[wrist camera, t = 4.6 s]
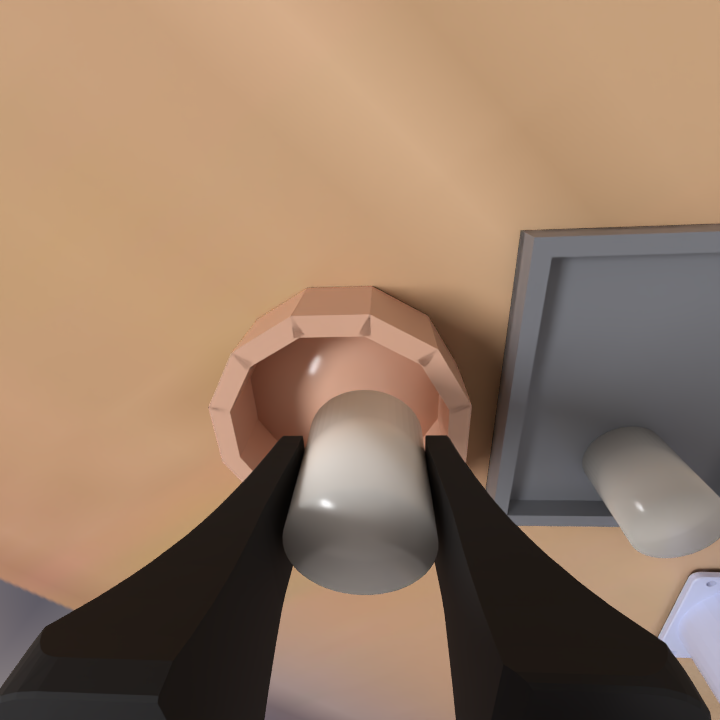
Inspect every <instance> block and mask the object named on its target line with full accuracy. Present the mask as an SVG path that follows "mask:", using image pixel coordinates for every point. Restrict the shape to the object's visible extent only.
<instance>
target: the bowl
mask: <svg viewBox="0 0 720 720" xmlns="http://www.w3.org/2000/svg"><path fill="white" fill-rule="evenodd" d="M355 390H374V391H380V392H383V393H387V394H389V395H392V396H394V397H396V398H398V399H400V400H401V401H403V402H404V403H405V404H407V405H408V406H409V407H410V408H411V409H412V411H413V412H414V413H415V415H416V416H417V418H418V420H419V422H420V425H421V429H422V434H423V441H424V448H425V436H426V435H447V436H448V437H449V438H450V439H451V441H452V443H453V445H454V446H455V448H456V449H457V451H458V453H459V454H460V456H461V457H462V459H463V460H464V462H465V463H466V458H467V448H468V438H469V428H470V419H471V409H472V404H471V402H470V399H469V396H468V394H467V391H466V388H465V385H464V383H463V380H462V377H461V374H460V372H459V369H458V366H457V364H456V362H455V361H454V359H453V357H452V355H451V354H450V352H449V350H448V349H447V347H446V345H445V344H444V342H443V340H442V338H441V337H440V335H439V333H438V332H437V330H436V328H435V327H434V325H433V323H432V321H431V320H430V318H429V316H427V315H426V314H424V313H422V312H420V311H418V310H416V309H414V308H412V307H410V306H409V305H407V304H405V303H403V302H401V301H399V300H397V299H395V298H393V297H392V296H390V295H388V294H386V293H384V292H382V291H380V290H378V289H376V288H375V287H373V286H361V287H323V288H306V289H305V290H303V291H301V292H300V293H298V294H297V295H295V296H294V297H292V298H290V299H289V300H287V301H286V302H284V303H282V304H281V305H279V306H278V307H276V308H275V309H273V310H271V311H270V312H268V313H267V314H265V315H263V316H262V317H260V318H259V319H257V320H256V321H255V323H254V324H253V325H252V327H251V328H250V329H249V330H248V332H247V333H246V334H245V336H244V337H243V338H242V339H241V341H240V342H239V343H238V345H237V346H236V347H235V348H234V350H233V351H232V352H231V354H230V357H229V359H228V362H227V364H226V366H225V369H224V371H223V374H222V376H221V379H220V381H219V383H218V386H217V388H216V391H215V393H214V395H213V398H212V400H211V403H210V405H209V407H208V408H209V412H210V416H211V420H212V423H213V427H214V431H215V435H216V439H217V443H218V447H219V451H220V455H221V459H222V462H223V463H224V464H225V465H226V466H227V467H228V468H229V469H230V470H231V471H232V472H233V473H234V474H235V475H236V476H237V477H238V478H239V479H240V480H241V481H242V482H243V481H244V480H245V479H246V478H247V477H248V476H249V474H250V473H251V472H252V471H253V470H254V469H255V468H256V467H257V466H258V464H259V463H260V462H261V461H262V460H263V459H264V457H265V456H266V455H267V454H268V453H269V451H270V450H271V449H272V448H273V447H274V445H275V444H276V443H277V442H278V441H279V439H280V438H281V437H282V436H303V440H304V448H305V447H306V443H307V439H308V435H309V431H310V428H311V424H312V421H313V419H314V417H315V415H316V413H317V412H318V410H319V409H320V408H321V407H322V406H323V405H324V404H325V403H326V402H327V401H329V400H330V399H332V398H334V397H335V396H338V395H340V394H342V393H346V392H349V391H355Z"/></svg>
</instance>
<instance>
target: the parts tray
mask: <svg viewBox="0 0 720 720" xmlns="http://www.w3.org/2000/svg"><path fill="white" fill-rule="evenodd" d="M632 426H633V427H642V428H646V429H649V430H651V431H653V432H654V433H656V434H657V435H658V436H659V437H660V438H661V439H662V440H663V441H664V442H665V443H666V444H667V445H668V446H669V447H670V448H671V449H672V450H673V451H674V452H675V453H676V454H677V455H678V456H679V457H680V458H681V459H682V460H683V461H684V462H685V463H686V464H687V465H688V466H689V467H690V468H691V469H692V470H693V471H694V472H695V473H696V474H697V475H698V476H699V477H700V478H701V479H702V480H703V481H704V482H705V483H706V484H707V485H708V486H709V487H710V488H711V489H712V490H713V491H714V492H715V493H716V494H717V495H718V496H719V497H720V224H696V225H667V226H637V227H608V228H579V229H549V230H521V233H520V240H519V248H518V255H517V263H516V270H515V277H514V285H513V292H512V299H511V307H510V314H509V322H508V329H507V336H506V344H505V351H504V358H503V366H502V373H501V381H500V388H499V395H498V403H497V410H496V417H495V425H494V432H493V440H492V447H491V454H490V462H489V469H488V476H487V484H486V491H487V492H488V494H489V495H490V496H491V497H492V498H493V500H494V501H495V502H496V503H497V504H498V505H499V507H500V508H501V509H502V510H503V511H504V512H505V513H506V515H507V516H508V517H509V518H510V519H511V520H512V521H513V522H514V523H515V524H516V525H517V526H597V527H620V526H619V525H618V523H617V522H616V520H615V519H614V517H613V515H612V514H611V512H610V511H609V509H608V508H607V506H606V505H605V503H604V502H603V500H602V499H601V497H600V495H599V494H598V492H597V491H596V489H595V488H594V486H593V485H592V483H591V482H590V480H589V478H588V477H587V475H586V474H585V472H584V470H583V466H582V461H583V456H584V454H585V452H586V450H587V448H588V447H589V446H590V445H591V443H592V442H593V441H595V440H596V439H597V438H598V437H600V436H601V435H603V434H605V433H607V432H609V431H612V430H614V429H618V428H622V427H632Z"/></svg>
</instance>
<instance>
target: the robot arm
mask: <svg viewBox="0 0 720 720" xmlns="http://www.w3.org/2000/svg"><path fill="white" fill-rule="evenodd" d="M304 450H305V448H304V440H303V436H282V437H281V438H280V439H279V441H278V442H277V443H276V444H275V445H274V447H273V448H272V449H271V450H270V451H269V453H268V454H267V455H266V456H265V457H264V459H263V460H262V461H261V462H260V463H259V464H258V466H257V467H256V468H255V469H254V470H253V471H252V472H251V473H250V474H249V476H248V477H247V478H246V479H245V480H244V481H243V482H242V483H241V484H240V486H239V487H238V488H237V489H236V490H235V491H234V492H233V493H232V494H231V495H230V496H229V497H228V498H227V499H226V500H225V501H224V502H223V503H222V504H221V505H220V506H219V507H218V508H217V509H216V510H215V511H214V512H212V513H211V514H210V515H209V516H208V517H207V518H206V519H205V520H204V521H203V522H202V523H200V524H199V525H198V526H197V527H196V528H195V529H193V530H192V531H191V532H190V533H189V534H187V535H186V536H185V537H184V538H183V539H181V540H180V541H179V542H177V543H176V544H175V545H173V546H172V547H171V548H169V549H168V550H167V551H165V552H164V553H163V554H161V555H160V556H159V557H157V558H156V559H155V560H153V561H152V562H151V563H149V564H148V565H146V566H145V567H143V568H142V569H140V570H139V571H137V572H136V573H134V574H133V575H132V576H130V577H129V578H127V579H125V580H124V581H122V582H121V583H119V584H118V585H116V586H115V587H113V588H111V589H110V590H108V591H107V592H105V593H103V594H102V595H100V596H98V597H97V598H95V599H93V600H92V601H90V602H88V603H86V604H85V605H83V606H81V607H79V608H78V609H76V610H74V611H72V612H71V613H69V614H67V615H66V616H64V617H62V618H60V619H59V620H57V621H55V622H53V623H51V624H49V625H48V626H46V627H45V628H44V629H43V630H42V632H41V633H40V634H39V636H38V637H37V638H36V640H35V641H34V642H33V644H32V645H31V646H30V647H29V649H28V650H27V652H26V653H25V654H24V656H23V657H22V659H21V660H20V661H19V663H18V664H17V666H16V667H15V668H14V670H13V671H12V673H11V674H10V676H9V677H8V678H7V680H6V681H5V682H4V684H3V685H2V687H1V688H0V720H264V718H265V711H266V704H267V697H268V690H269V684H270V678H271V671H272V665H273V659H274V652H275V646H276V640H277V635H278V629H279V623H280V617H281V611H282V607H283V602H284V598H285V593H286V590H287V586H288V582H289V578H290V575H291V571H292V567H293V565H292V564H291V562H290V560H289V559H288V557H287V555H286V553H285V550H284V546H283V538H282V537H283V530H284V526H285V522H286V518H287V515H288V511H289V507H290V503H291V499H292V496H293V492H294V488H295V484H296V481H297V477H298V473H299V469H300V465H301V462H302V458H303V454H304ZM425 455H426V462H427V469H428V476H429V482H430V488H431V495H432V502H433V508H434V515H435V522H436V529H437V535H438V553H437V556H436V559H435V566H436V571H437V576H438V581H439V585H440V590H441V595H442V601H443V607H444V613H445V622H446V631H447V640H448V648H449V657H450V667H451V676H452V685H453V695H454V705H455V715H456V720H711V715H710V711H709V709H708V708H707V706H706V704H705V702H704V701H703V699H702V697H701V696H700V694H699V692H698V691H697V689H696V687H695V686H694V684H693V682H692V681H691V679H690V678H689V676H688V675H687V673H686V671H685V670H684V668H683V667H682V666H681V664H680V663H679V661H678V660H677V659H676V657H679V658H692V660H693V661H694V663H695V664H696V666H697V668H698V669H699V671H700V673H701V674H702V676H703V677H704V679H705V681H706V682H707V684H708V685H709V687H710V689H711V690H712V692H713V693H714V695H715V697H716V698H717V700H718V702H719V703H720V572H695V573H693V574H691V575H690V576H689V577H688V579H687V581H686V583H685V585H684V587H683V589H682V591H681V593H680V595H679V597H678V599H677V601H676V603H675V605H674V607H673V609H672V611H671V613H670V615H669V617H668V619H667V620H666V622H665V624H664V626H663V628H662V630H661V632H660V634H659V636H658V638H657V637H656V636H654V635H653V634H651V633H650V632H648V631H647V630H645V629H644V628H642V627H641V626H640V625H638V624H637V623H635V622H634V621H632V620H631V619H629V618H628V617H626V616H625V615H623V614H622V613H620V612H619V611H617V610H616V609H614V608H613V607H612V606H610V605H609V604H608V603H606V602H605V601H604V600H602V599H601V598H600V597H598V596H597V595H596V594H594V593H593V592H592V591H590V590H589V589H588V588H586V587H585V586H584V585H582V584H581V583H580V582H579V581H577V580H576V579H575V578H574V577H573V576H572V575H570V574H569V573H568V572H567V571H566V570H564V569H563V568H562V567H561V566H560V565H558V564H557V563H556V562H555V561H554V560H552V559H551V558H550V557H549V556H548V555H547V554H546V553H545V552H543V551H542V550H541V549H540V548H539V547H538V546H537V545H536V544H535V543H534V542H533V541H532V540H531V539H530V538H529V537H528V536H527V535H526V534H525V533H524V532H523V531H522V530H521V529H520V528H519V527H518V526H517V525H516V524H515V523H514V522H513V521H512V520H511V519H510V518H509V517H508V516H507V515H506V513H505V512H504V511H503V510H502V509H501V508H500V507H499V505H498V504H497V503H496V502H495V501H494V500H493V498H492V497H491V496H490V495H489V494H488V492H487V491H486V490H485V489H484V487H483V486H482V485H481V483H480V482H479V481H478V479H477V478H476V477H475V476H474V474H473V473H472V471H471V470H470V469H469V467H468V466H467V464H466V463H465V462H464V460H463V459H462V457H461V456H460V454H459V453H458V451H457V449H456V448H455V446H454V445H453V443H452V441H451V439H450V438H449V437H448V436H447V435H426V436H425Z"/></svg>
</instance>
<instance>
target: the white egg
mask: <svg viewBox="0 0 720 720" xmlns="http://www.w3.org/2000/svg"><path fill="white" fill-rule="evenodd" d="M282 538H283V546H284V550H285V553H286V555H287V557H288V559H289V560H290V562H291V564H292V565H293V566H294V567H295V568H296V569H297V570H298V571H299V572H300V573H301V574H302V575H303V576H305V577H306V578H308V579H309V580H311V581H313V582H314V583H316V584H318V585H320V586H323V587H325V588H328V589H331V590H334V591H338V592H342V593H348V594H356V595H374V594H383V593H388V592H392V591H396V590H399V589H402V588H404V587H407V586H408V585H410V584H412V583H414V582H416V581H417V580H419V579H420V578H421V577H422V576H423V575H425V574H426V573H427V571H428V570H429V569H430V568H431V566H432V565H433V563H434V562H435V559H436V556H437V553H438V535H437V529H436V522H435V515H434V508H433V502H432V495H431V488H430V482H429V476H428V469H427V462H426V455H425V448H424V441H423V434H422V429H421V425H420V422H419V420H418V418H417V416H416V415H415V413H414V412H413V411H412V409H411V408H410V407H409V406H408V405H407V404H405V403H404V402H403V401H401V400H400V399H398V398H396V397H394V396H392V395H389V394H387V393H383V392H380V391H374V390H355V391H349V392H346V393H342V394H340V395H338V396H335V397H334V398H332V399H330V400H329V401H327V402H326V403H325V404H324V405H323V406H322V407H321V408H320V409H319V410H318V412H317V413H316V415H315V417H314V419H313V421H312V424H311V428H310V431H309V435H308V439H307V443H306V447H305V450H304V454H303V458H302V462H301V465H300V469H299V473H298V477H297V481H296V484H295V488H294V492H293V496H292V499H291V503H290V507H289V511H288V515H287V518H286V522H285V526H284V530H283V537H282Z"/></svg>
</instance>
